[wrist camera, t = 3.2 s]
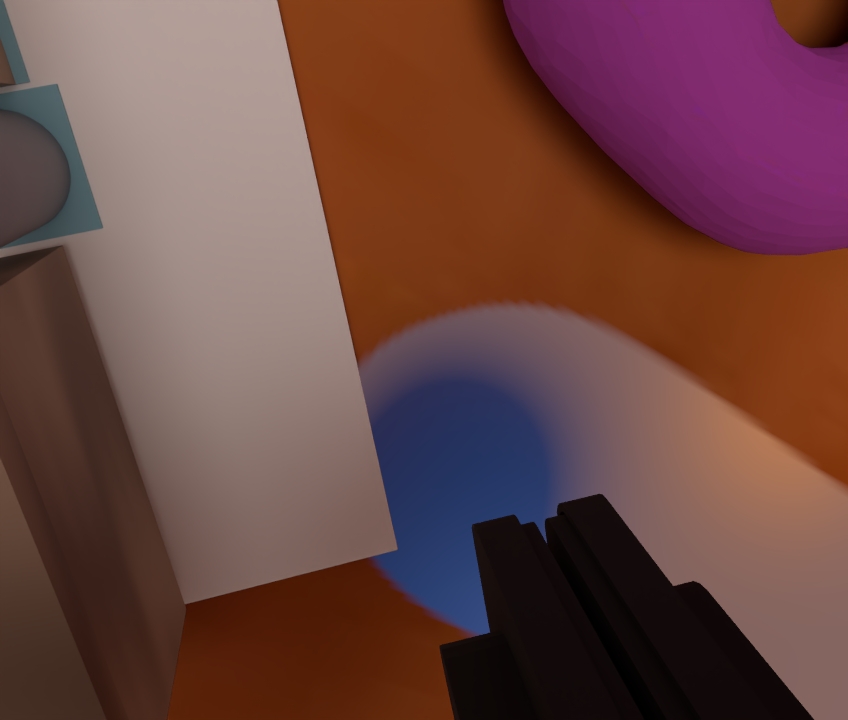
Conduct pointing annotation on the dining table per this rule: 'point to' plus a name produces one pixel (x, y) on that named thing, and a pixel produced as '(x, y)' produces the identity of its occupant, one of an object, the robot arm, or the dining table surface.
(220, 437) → the fence base
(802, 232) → the donut
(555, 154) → the dining table surface
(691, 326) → the dining table surface
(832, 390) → the dining table surface
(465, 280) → the dining table surface
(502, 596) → the robot arm
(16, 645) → the fence panel
